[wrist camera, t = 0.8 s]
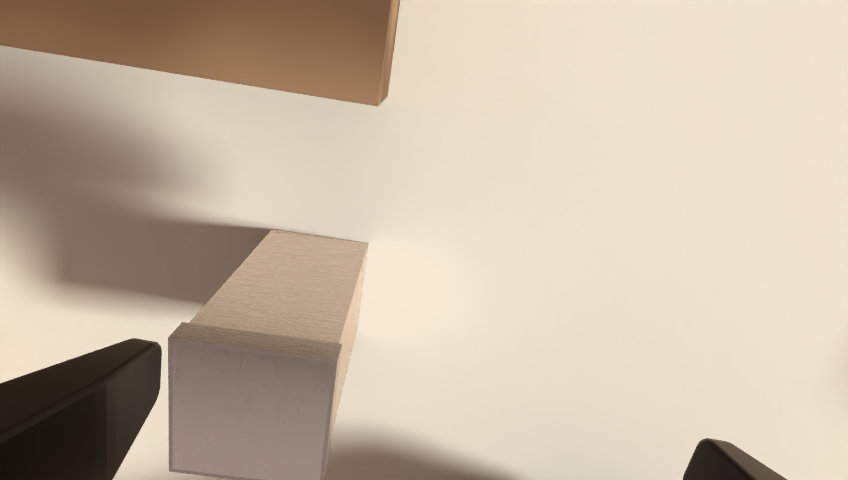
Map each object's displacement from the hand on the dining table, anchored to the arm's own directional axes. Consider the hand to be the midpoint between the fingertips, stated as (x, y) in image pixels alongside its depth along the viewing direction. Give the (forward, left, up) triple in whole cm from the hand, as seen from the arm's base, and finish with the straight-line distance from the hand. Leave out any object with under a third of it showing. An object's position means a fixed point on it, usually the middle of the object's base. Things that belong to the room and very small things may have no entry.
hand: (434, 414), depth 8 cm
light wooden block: (-4, +4, -13) cm, 14 cm away
